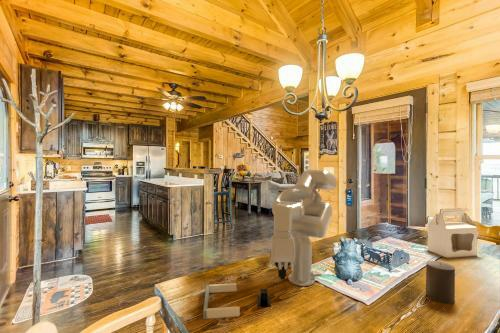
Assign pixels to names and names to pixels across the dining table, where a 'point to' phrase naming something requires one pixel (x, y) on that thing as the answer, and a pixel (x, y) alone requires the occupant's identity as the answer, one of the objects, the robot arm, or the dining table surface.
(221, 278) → the dining table surface
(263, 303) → the black boxy piece
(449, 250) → the gable box
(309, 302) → the dining table surface
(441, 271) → the pillar candle
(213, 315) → the u-shaped wooden bracket
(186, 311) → the dining table surface
